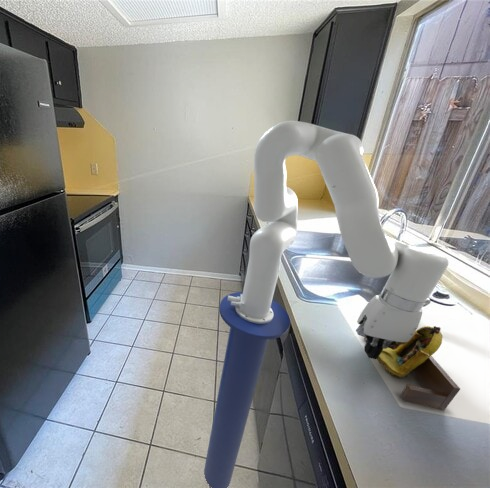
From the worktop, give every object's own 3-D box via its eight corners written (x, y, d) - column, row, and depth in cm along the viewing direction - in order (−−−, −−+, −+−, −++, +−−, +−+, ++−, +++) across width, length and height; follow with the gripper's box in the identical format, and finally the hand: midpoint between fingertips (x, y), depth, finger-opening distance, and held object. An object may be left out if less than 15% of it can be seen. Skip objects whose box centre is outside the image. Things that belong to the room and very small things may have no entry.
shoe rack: (402, 400, 59) (416, 379, 56) (363, 338, 77) (372, 320, 74) (444, 410, 57) (460, 389, 54) (395, 344, 75) (405, 325, 72)
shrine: (436, 377, 64) (447, 322, 61) (430, 393, 59) (441, 334, 56) (378, 355, 73) (385, 306, 70) (368, 367, 68) (375, 315, 65)
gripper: (428, 295, 62) (394, 350, 70) (359, 283, 65) (334, 337, 73) (450, 315, 55) (410, 374, 63) (373, 301, 58) (343, 359, 66)
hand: (369, 354), depth 68 cm, fingers closed
